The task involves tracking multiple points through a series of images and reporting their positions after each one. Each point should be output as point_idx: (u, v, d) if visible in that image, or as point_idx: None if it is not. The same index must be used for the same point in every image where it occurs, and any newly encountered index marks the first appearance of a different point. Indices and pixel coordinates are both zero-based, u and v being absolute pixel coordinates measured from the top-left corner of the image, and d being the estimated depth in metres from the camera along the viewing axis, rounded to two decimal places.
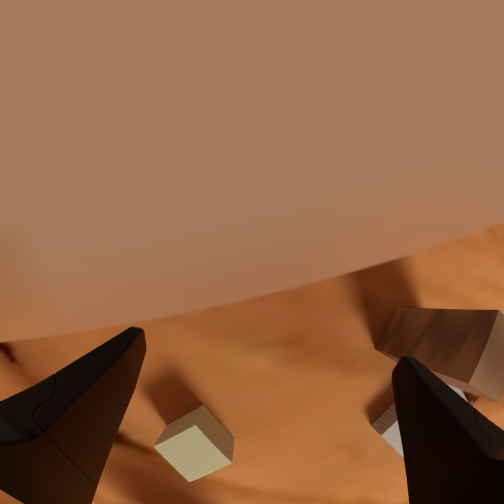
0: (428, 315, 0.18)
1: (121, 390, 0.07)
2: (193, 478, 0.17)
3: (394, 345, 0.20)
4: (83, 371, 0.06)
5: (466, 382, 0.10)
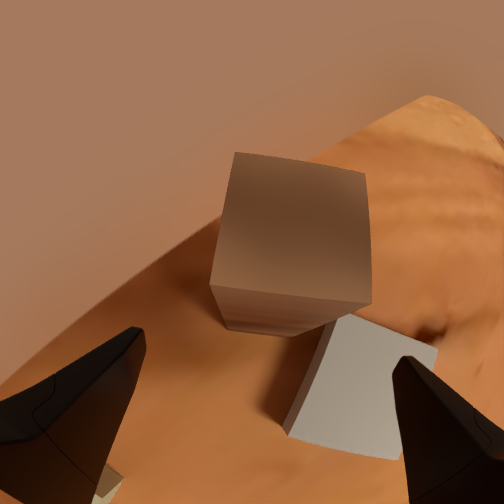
0: None
1: (121, 390, 0.07)
2: None
3: None
4: (83, 371, 0.06)
5: (213, 286, 0.08)
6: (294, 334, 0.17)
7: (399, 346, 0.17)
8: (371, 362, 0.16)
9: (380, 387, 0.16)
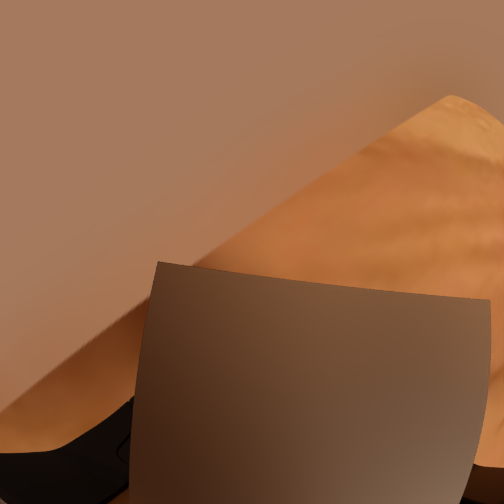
0: None
1: None
2: None
3: None
4: None
5: None
6: None
7: None
8: None
9: None
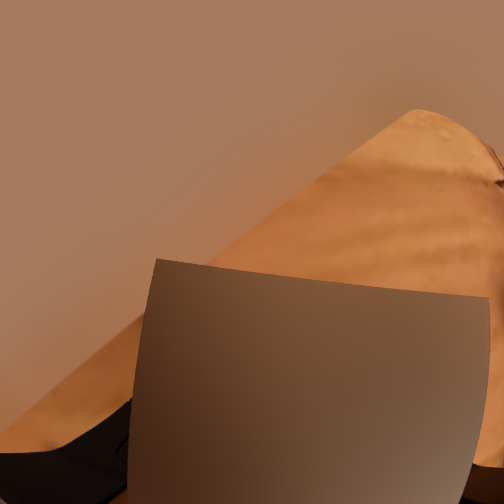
0: None
1: None
2: None
3: None
4: None
5: None
6: None
7: None
8: None
9: None
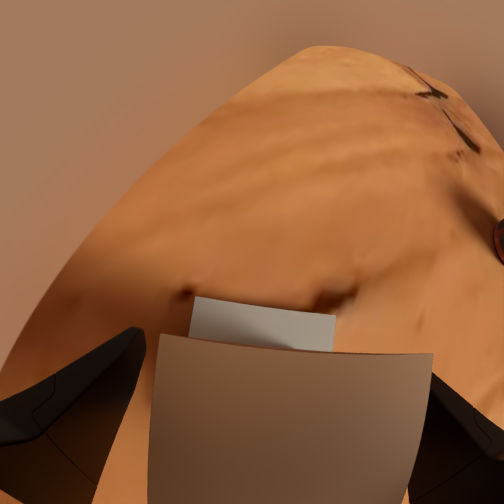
0: None
1: (121, 390, 0.07)
2: None
3: None
4: (83, 371, 0.06)
5: None
6: None
7: (277, 322, 0.17)
8: None
9: None
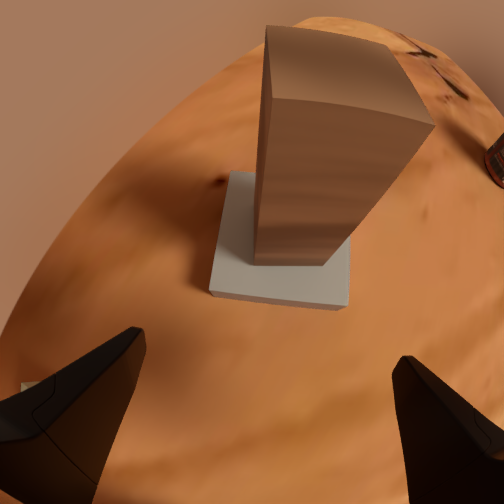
0: (257, 160, 0.14)
1: (121, 390, 0.07)
2: None
3: (255, 235, 0.15)
4: (83, 371, 0.06)
5: (274, 105, 0.06)
6: (330, 252, 0.16)
7: None
8: None
9: None
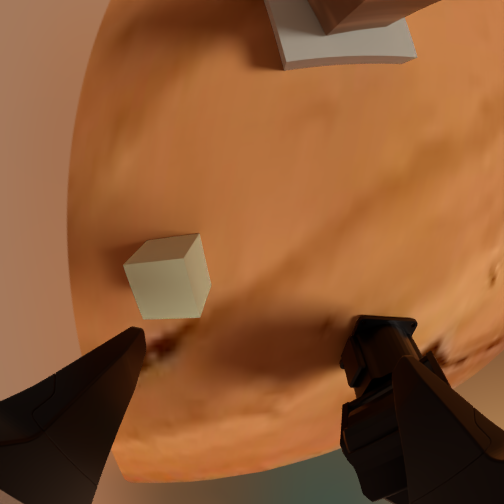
0: None
1: (121, 390, 0.07)
2: (195, 310, 0.19)
3: (333, 8, 0.09)
4: (83, 371, 0.06)
5: None
6: (402, 17, 0.09)
7: None
8: None
9: None
